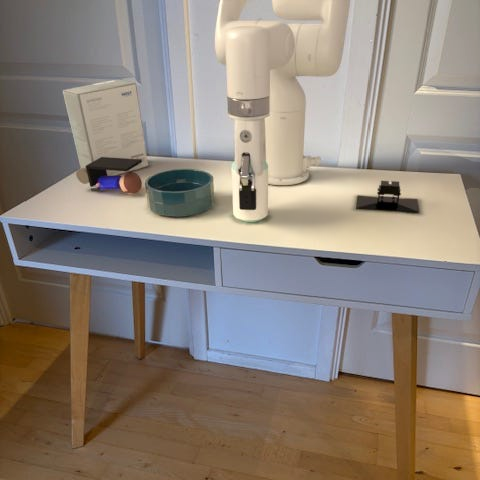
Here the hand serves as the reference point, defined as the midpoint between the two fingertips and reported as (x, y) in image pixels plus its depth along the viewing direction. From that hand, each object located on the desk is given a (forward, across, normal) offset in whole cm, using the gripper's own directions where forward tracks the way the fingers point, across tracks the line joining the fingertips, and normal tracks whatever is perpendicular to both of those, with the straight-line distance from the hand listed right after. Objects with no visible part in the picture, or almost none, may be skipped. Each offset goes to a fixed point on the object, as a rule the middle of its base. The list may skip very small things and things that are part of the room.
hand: (250, 200), depth 98 cm
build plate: (+3, +8, -28) cm, 29 cm away
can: (+3, 0, 0) cm, 3 cm away
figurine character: (+3, +12, +33) cm, 36 cm away
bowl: (+3, +5, +16) cm, 17 cm away
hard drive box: (+3, +26, +38) cm, 46 cm away
